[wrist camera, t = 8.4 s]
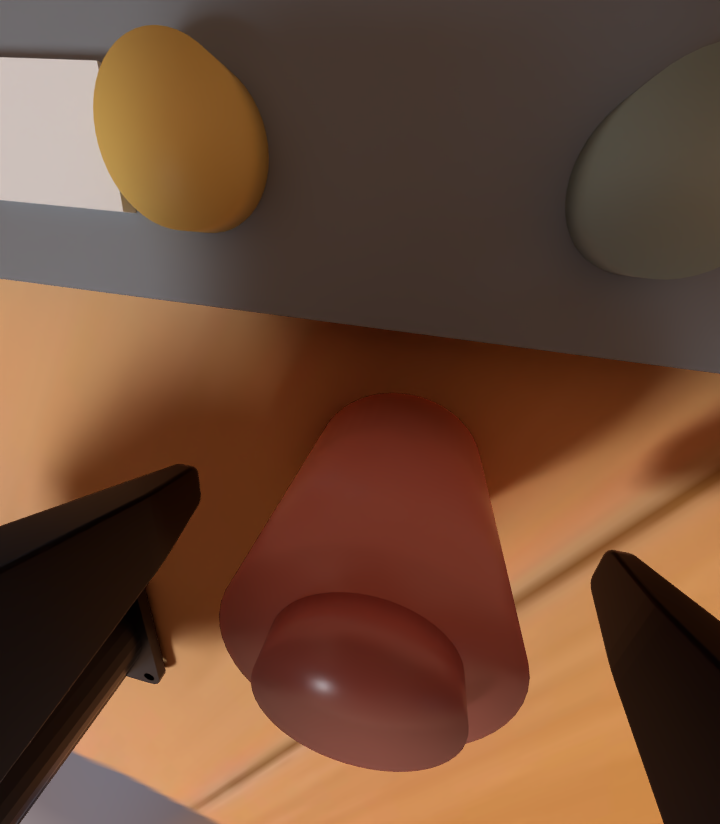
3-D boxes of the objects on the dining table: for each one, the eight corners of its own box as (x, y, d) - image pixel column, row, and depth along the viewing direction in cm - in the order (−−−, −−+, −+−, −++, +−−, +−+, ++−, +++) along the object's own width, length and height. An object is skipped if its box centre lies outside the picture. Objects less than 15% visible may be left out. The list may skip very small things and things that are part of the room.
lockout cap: (461, 545, 10) (489, 832, 5) (314, 515, 11) (211, 746, 6) (500, 408, 8) (606, 648, 3) (320, 380, 9) (173, 548, 4)
